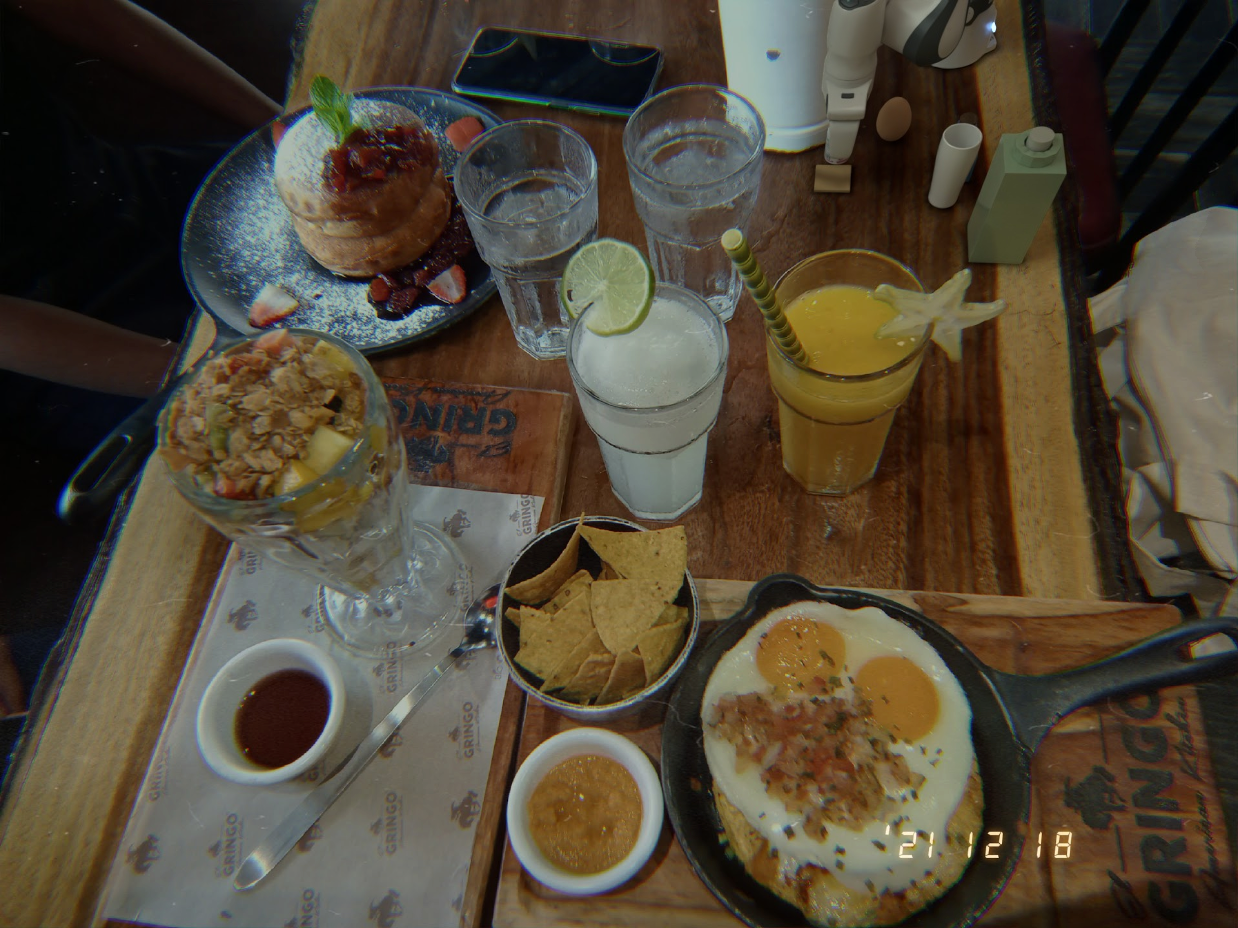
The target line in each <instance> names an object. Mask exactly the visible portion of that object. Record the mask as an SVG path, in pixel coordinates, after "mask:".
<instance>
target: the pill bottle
mask: <svg viewBox="0 0 1238 928" xmlns="http://www.w3.org/2000/svg"><path fill="white" fill-rule="evenodd" d="M824 159H825V161H826V162H827V163H829V164H830V165H843V164H844V163H846V162H847V161H848V159H832V158H830V154H829V127H828V128H827V131H826V139H825V148H824Z"/></svg>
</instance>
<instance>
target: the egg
mask: <svg viewBox="0 0 1238 928" xmlns="http://www.w3.org/2000/svg"><path fill="white" fill-rule="evenodd" d="M912 115H913V113H912V109H911V106H910V103H909V102H908V100H907V99H905V98H903V97H900V96H894V97H892V98H890V99H889V100H887V101H886V102H885V103H884V105H883V106H882V107H881V108H880V109H879V111H878V115H877V117H876V123H875V126H876V131H877V133H878V135H879V137H880V138H881V139H883V140H884V141H886V142H895V141H898V140H900V139H901V138H902V137H904V136H905V134H907V132H908V131H909V128H910V126H911V123H912V118H913V117H912Z"/></svg>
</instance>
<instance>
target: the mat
mask: <svg viewBox="0 0 1238 928" xmlns="http://www.w3.org/2000/svg"><path fill="white" fill-rule="evenodd" d="M814 172H815V174H814V185H813V193H851V179H852V178H851V177H852V175H851V174H852V164H816V165H815V171H814Z"/></svg>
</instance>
